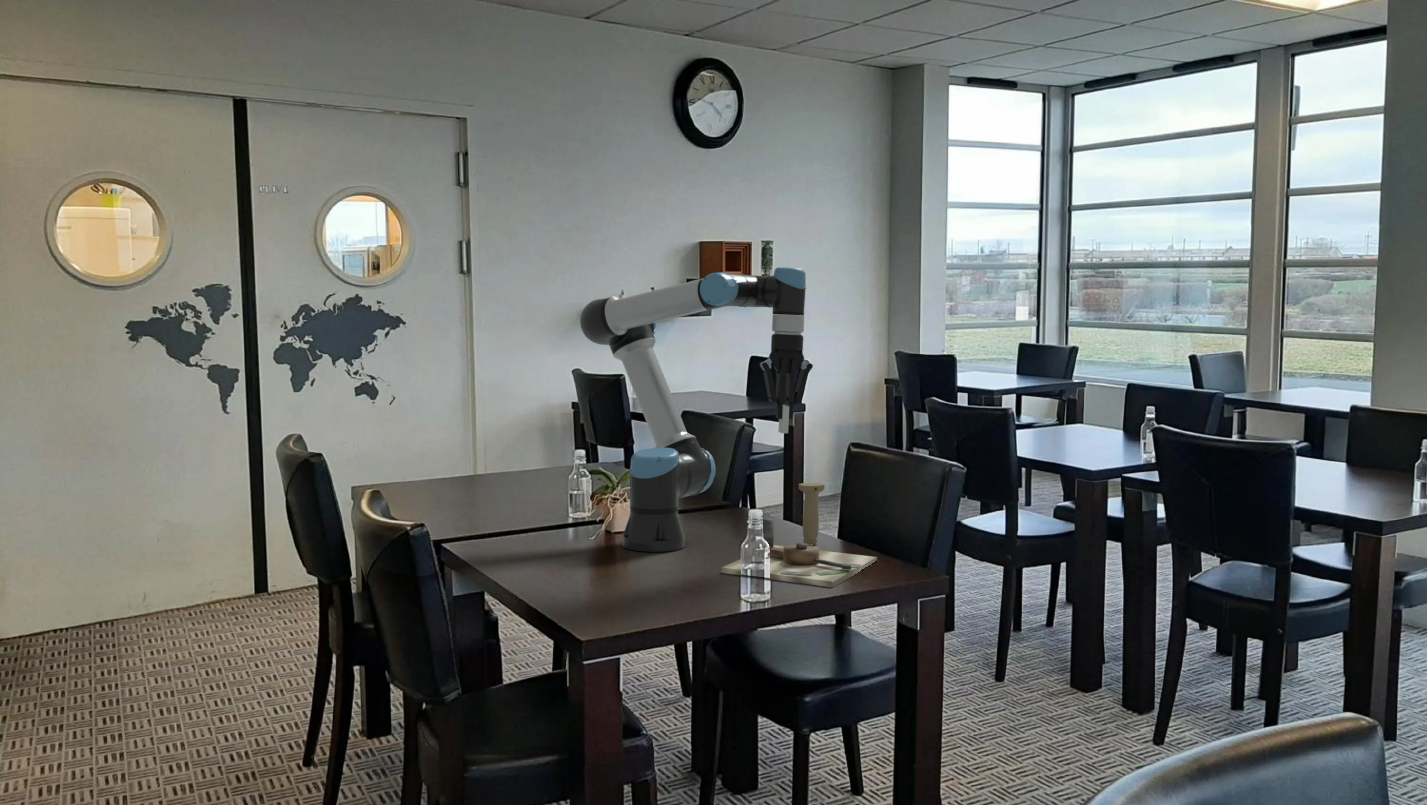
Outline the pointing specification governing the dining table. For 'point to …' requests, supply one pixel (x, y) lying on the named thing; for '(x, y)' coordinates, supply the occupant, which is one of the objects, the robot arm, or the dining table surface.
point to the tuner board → (811, 569)
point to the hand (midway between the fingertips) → (783, 432)
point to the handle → (811, 511)
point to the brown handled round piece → (795, 550)
